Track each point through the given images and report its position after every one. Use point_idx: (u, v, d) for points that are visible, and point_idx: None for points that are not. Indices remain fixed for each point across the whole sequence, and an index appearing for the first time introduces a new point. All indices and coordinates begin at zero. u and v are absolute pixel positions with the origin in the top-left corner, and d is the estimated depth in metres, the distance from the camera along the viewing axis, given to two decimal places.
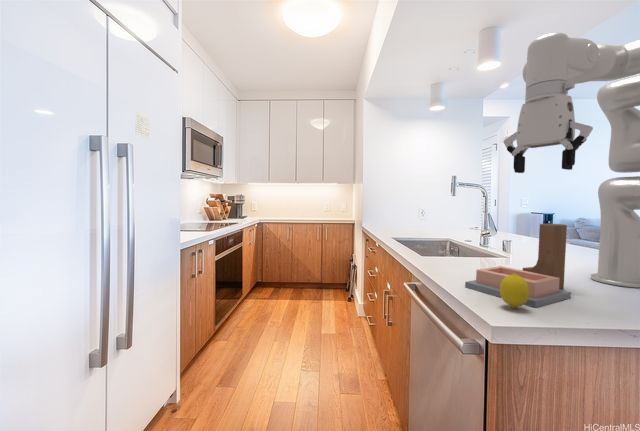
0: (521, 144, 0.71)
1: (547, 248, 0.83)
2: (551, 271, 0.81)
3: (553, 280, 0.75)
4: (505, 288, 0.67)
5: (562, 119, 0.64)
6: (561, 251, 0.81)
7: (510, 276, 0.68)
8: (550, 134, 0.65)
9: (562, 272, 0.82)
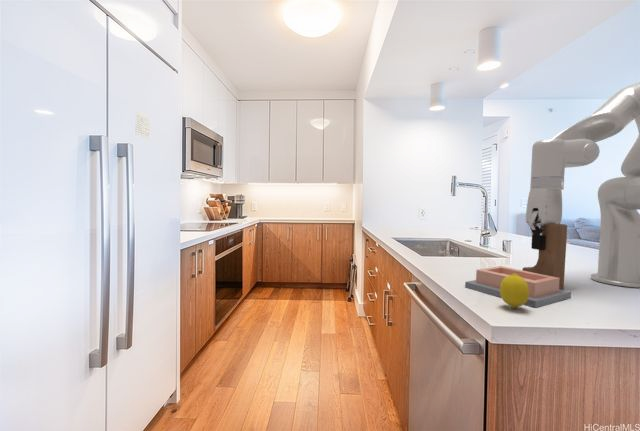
0: (545, 223, 0.82)
1: (547, 247, 0.83)
2: (551, 271, 0.81)
3: (553, 280, 0.75)
4: (505, 288, 0.67)
5: (561, 208, 0.85)
6: (561, 251, 0.81)
7: (510, 276, 0.68)
8: (558, 218, 0.84)
9: (562, 272, 0.82)
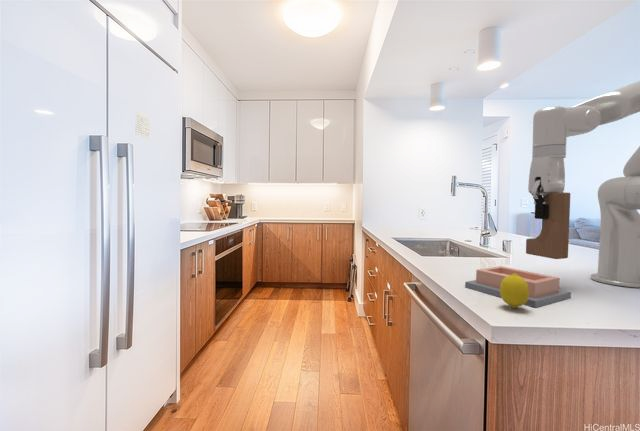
0: (548, 191, 0.81)
1: (550, 216, 0.82)
2: (555, 239, 0.81)
3: (553, 280, 0.75)
4: (505, 288, 0.67)
5: (564, 177, 0.85)
6: (564, 219, 0.81)
7: (510, 276, 0.68)
8: (561, 187, 0.84)
9: (566, 240, 0.82)
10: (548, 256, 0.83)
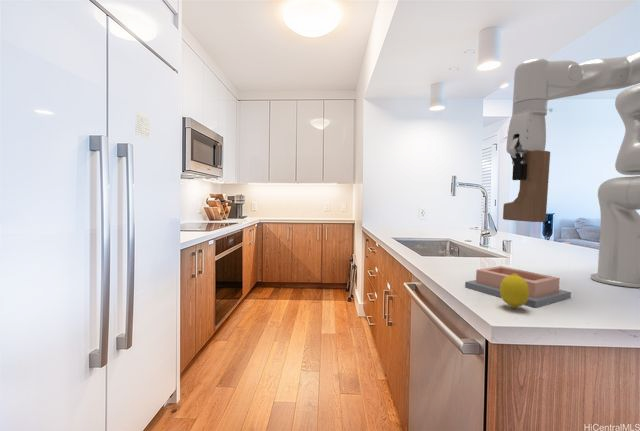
0: (526, 149, 0.76)
1: (528, 176, 0.77)
2: (532, 200, 0.76)
3: (553, 280, 0.75)
4: (505, 288, 0.67)
5: (545, 137, 0.80)
6: (543, 179, 0.76)
7: (510, 276, 0.68)
8: (541, 147, 0.79)
9: (544, 202, 0.76)
10: (525, 219, 0.78)
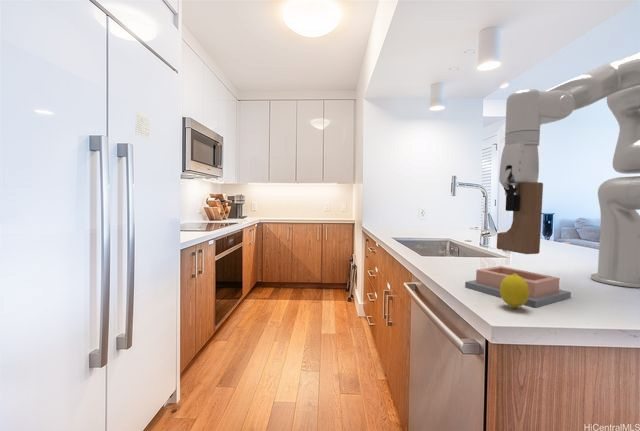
0: (519, 181, 0.75)
1: (521, 208, 0.76)
2: (526, 233, 0.75)
3: (553, 280, 0.75)
4: (505, 288, 0.67)
5: (538, 167, 0.79)
6: (536, 211, 0.75)
7: (510, 276, 0.68)
8: (534, 177, 0.78)
9: (538, 234, 0.76)
10: (518, 251, 0.77)
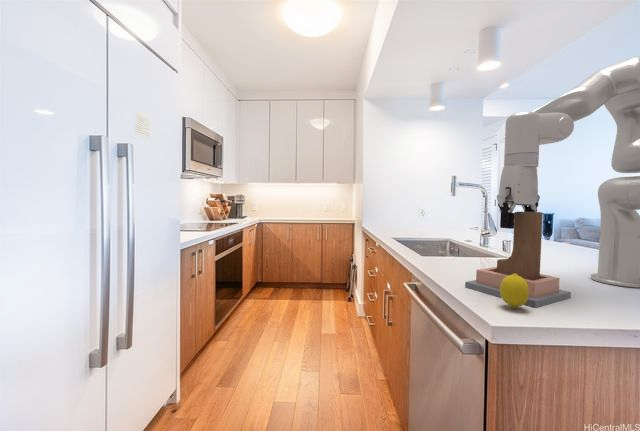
0: (518, 203, 0.76)
1: (522, 237, 0.77)
2: (526, 262, 0.76)
3: (553, 280, 0.75)
4: (505, 288, 0.67)
5: (537, 188, 0.79)
6: (536, 241, 0.76)
7: (510, 276, 0.68)
8: (533, 198, 0.78)
9: (538, 263, 0.76)
10: None
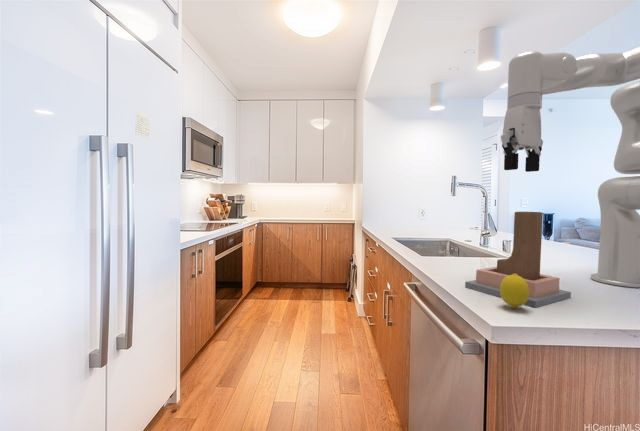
0: (522, 143, 0.76)
1: (522, 237, 0.77)
2: (526, 262, 0.76)
3: (553, 280, 0.75)
4: (505, 288, 0.67)
5: (540, 130, 0.79)
6: (536, 241, 0.76)
7: (510, 276, 0.68)
8: (537, 140, 0.78)
9: (538, 263, 0.76)
10: None
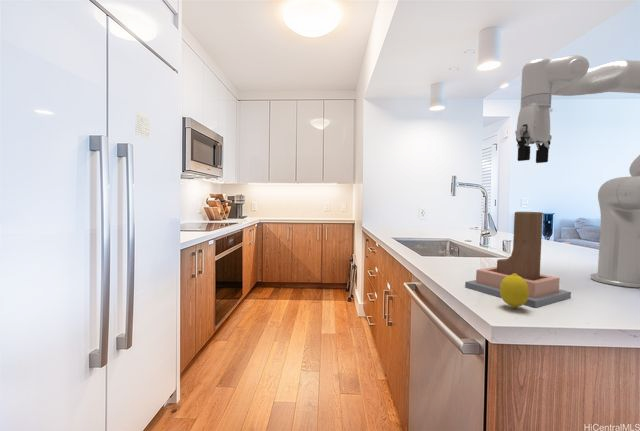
0: (534, 137, 0.88)
1: (522, 237, 0.77)
2: (526, 262, 0.76)
3: (553, 280, 0.75)
4: (505, 288, 0.67)
5: (549, 127, 0.91)
6: (536, 241, 0.76)
7: (510, 276, 0.68)
8: (546, 135, 0.90)
9: (538, 263, 0.76)
10: None
